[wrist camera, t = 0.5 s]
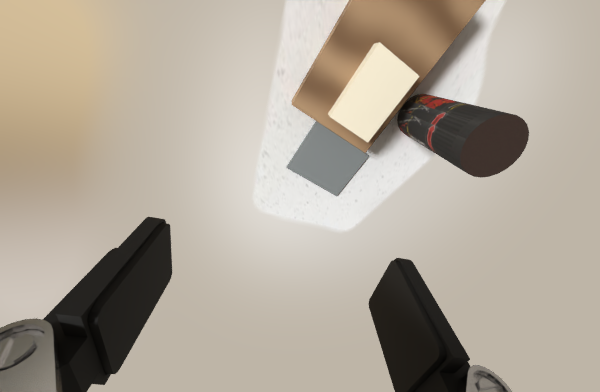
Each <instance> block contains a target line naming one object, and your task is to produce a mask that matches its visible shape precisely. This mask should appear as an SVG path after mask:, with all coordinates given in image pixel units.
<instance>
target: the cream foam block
mask: <svg viewBox="0 0 600 392" xmlns="http://www.w3.org/2000/svg"><path fill="white" fill-rule="evenodd" d="M418 78H419V75H418V74H416V73H415V72H414V71H413V70H412V69H411V68H409V67H408V66H407V65H406V64H405V63H404V62H402V61H401V60H400V59H399V58H398V57H396V56H395V55H394V54H393V53H392V52H391V51H389V50H388V49H387V48H386V47H385V46H383V45H382V44H381V43H380V42H379V43H375V44H373V46H372V48H371V49H370V51H369V52H368V54H367V55H366V57H365V58H364V60H363V61H362V63H361V64H360V66H359V67H358V69H357V70H356V72H355V73H354V75H353V76H352V78H351V79H350V81H349V82H348V84H347V86H346V87H345V89H344V90H343V92H342V93H341V95H340V96H339V98H338V99H337V101H336V102H335V104H334V105H333V107H332V108H331V110H330V111H329V113H328V115H329V116H330V117H331V118H332V119H334V120H335V121H337V122H338V123H340V124H341V125H343V126H344V127H345V128H347V129H348V130H350V131H351V132H353V133H354V134H356V135H357V136H359V137H360V138H362V139H363V140H365V141H366V142H369V141H370V139H371V138H372V137H373V135H374V134H375V133H376V132H377V130H378V129H379V128H380V126H381V125H382V124H383V123H384V121H385V120H386V119H387V117H388V116H389V115H390V114H391V112H392V111H393V110H394V108H395V107H396V106H397V105H398V103H399V102H400V101H401V99H402V98H403V97H404V96H405V94H406V93H407V92H408V90H409V89H410V88H411V87H412V85H413V84H414V83H415V81H416V80H417V79H418Z"/></svg>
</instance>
